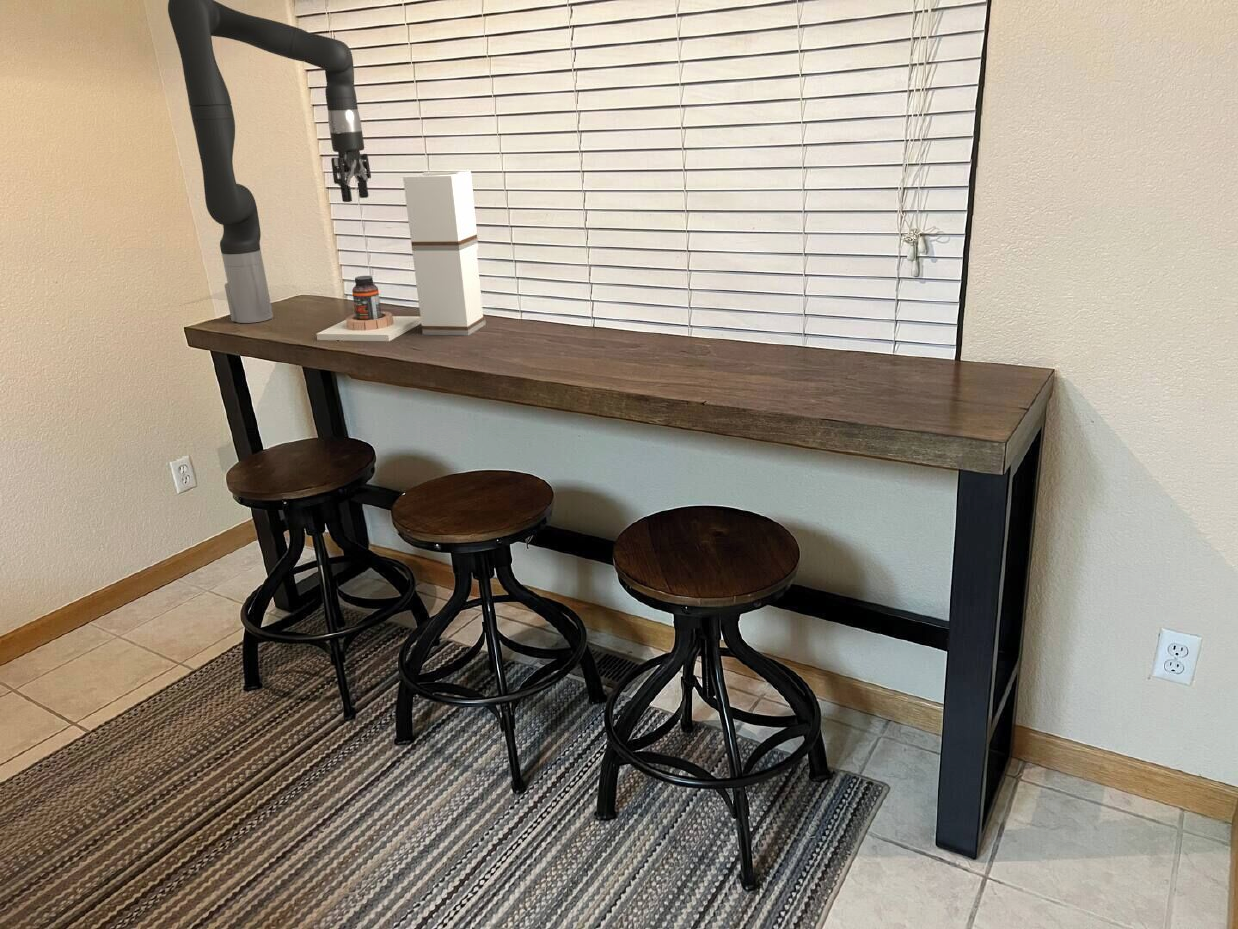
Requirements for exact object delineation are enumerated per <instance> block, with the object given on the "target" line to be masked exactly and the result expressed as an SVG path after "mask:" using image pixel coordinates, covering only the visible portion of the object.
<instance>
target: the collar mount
mask: <svg viewBox="0 0 1238 929" xmlns="http://www.w3.org/2000/svg"><path fill="white" fill-rule="evenodd" d="M381 314H382V318H379V319H374V320H356V314H355V313H354V314H351V315H349V316H347V317H345V320H342V321H341V322H338V323H336V324H334V325H332V326H329V327H328V328H326V329H323V330H322V331H320V332H317V333H316V339H317V341H337V340H339V341H342V342H343V341H344V342H345V341H346V342H347V341H348V342H352V341H353V342H391V341H392V340H394V339H396V338H398V337H399V336H402V335H403V334H405V333H406V332H408V331H410V330H412V329H414V328H416V327H417V326H419V325H422V324H421V316H415V315H414V316H412V315H411V316H407V315H405V316H403V315H402V316H401V315H399V316H398V315H397V316H396V315H393V313H391V312H390V311H389V312H388V311H381ZM339 341H338V342H339Z"/></svg>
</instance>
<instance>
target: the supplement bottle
mask: <svg viewBox="0 0 1238 929" xmlns="http://www.w3.org/2000/svg"><path fill="white" fill-rule="evenodd" d="M354 283H355V286H353V288H352V291H351V292H352V299H353V305H354V306H353V307H354V314H356V320H374V319H379V318H382V314H381V312H382V307H381V301H380V300H381V299H380V292H379V287H378V286H377V285H375V283H374V279H373V276H372V275H360V276H359V275H358V276H356V277H354Z"/></svg>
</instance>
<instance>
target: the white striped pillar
mask: <svg viewBox="0 0 1238 929" xmlns="http://www.w3.org/2000/svg"><path fill="white" fill-rule="evenodd" d="M402 180H403V188H404V194H405V196H404V197H405V204H406V205H405V206H406V212H407V213H406V214H407V219H408V228H409V234H410V243H411V251H412V259H413V267H414V268H413V269H414V275H415V276H414V277H415V282H416V285H415V286H416V290H417V299H418V307H419V314H420V316H419V317H421V324H420V325H421V330H422V335H431V336H433V335H434V336H439V335H440V336H470V335H472V334H473V333H475V332H476V331H478V330H479V329H481V328H482V327H485V326H486V316H485V315H484V311H483V303H482V302H483V301H482V292H481V280H480V272H479V262H478V250H479V242H478V230H477V220H476V212H475V211H476V210H475V200H474V190H473V181H472V172H471V170H470V171H469V170H468V171H467V170H466V171H442V172H441V171H435V172H434V171H430V172H427V171H426V172H422V175H417V176H415V175H411V176H402Z"/></svg>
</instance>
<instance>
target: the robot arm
mask: <svg viewBox="0 0 1238 929" xmlns="http://www.w3.org/2000/svg"><path fill="white" fill-rule="evenodd" d="M167 13H168V18H169V21H170V23H171V28H172V31H173V35H174V37H175V40H176V44H177V47H178V51H179V55H180V59H181V63H182V72H183V77H184V82H185V89H186V92H187V99H188V105H189V111H190V116H191V120H192V126H193V129H194V134H195V138H196V143H197V144H196V145H197V149H198V154H199V159H200V162H201V169H202V170H201V171H202V177H203V178H202V179H203V188H204V199H205V207H206V209H207V212H208V214H209V215H210V217H211V218H212V219H213V220H214V221H215V223H218V224H219V225H221V226H222V228H223V229H222V230H223V232H222V237H221V239H220V240H219V241H220V242H219V248H220V253H221V257H222V261H223V267H224V272H225V277H226V283H225V284H224V290H225V296H226V300H227V304H228V310H229V315H230V320H231V322H236V323H239V324H240V323H241V324H253V323H259V322H265V321H268V320H271V319H273V318H274V314H273V307H272V302H271V298H270V293H269V287H268V281H267V277H266V271H265V266H264V260H263V255H262V249H261V244H260V243H261V234H262V232H261V225H260V218H259V212H258V207H257V202H256V199H255V197H254V195H253V193H252V192H251V190H250V189H248V188H247V187H246V186H245V185H242V184H240V183H237V181H236V177H235V172H234V165H233V159H234V158H233V155H234V149H235V148H234V147H235V139H236V122H235V120H236V119H235V117H234V111H233V105H232V100H231V97H230V93H229V90H228V88H227V87H228V86H227V85H226V82H225V80H224V77H223V75H222V72H221V71H220V69H219V66H218V63H217V60H216V56H215V53H214V46H213V39H212V37H217V38H224V39H230V40H234V41H237V42H242V43H244V44H246V45H249V46H252V47H255V48H257V49H259V50H263V51H265V52H268V53H269V54H270V53H271V54H273V55H276V56H280V57H284V58H287V59H290V60H294V61H297V62H298V61H299V62H303V63H306V64H309V65H312V66H315V67H317V68H320V69H322V70H324V74H325V80H326V86H325V88H324V90H325V91H324V92H325V99H326V108H327V120H328V121H327V123H328V127H329V128H328V129H329V135H330V141H331V148H332V151H333V152H335V153H338V155H337V157H331V158H330V161H331V162H330V163H331V167H332V168H331V170H332V178H333V183H334V185H338V186H339V187H340V192H341V199H342V202H343V203H352V201H353V197H352V190H351V189H352V188H351V186H350V183H351V179H352V178H353V177H355V179H356V181H357V189H358V197H359V198H361V199H367V198H369V189H368V182H369V179H371V178H372V173H371V167H370V162H369V156H368V154H367V153H361V151H364V150H365V144H364V134H363V128H362V120H361V117H360V116H361V115H360V112H359V108H358V107H359V106H358V100H357V94H356V93H357V92H356V89H355V68H354V59H353V53H352V51H351V49H350V47H349V46H348V45H347V43H345V42H343V41H342V40H339V39H336V38H331V37H328V36H324V35H320V34H316V33H313V32H308V31H307V30H304V29H302V28H300V27H296V26H293V25H289V24H287V23H285V22H284V23H283V22H280V21H276V20H271V19H269V18H264V17H259V16H254V15H252V14H247V13H244V12H242V11H239V10H236V9H233V8H231V7H228V6H226V5H224V4H222V3H220V2H218V1H216V0H168V3H167Z"/></svg>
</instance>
